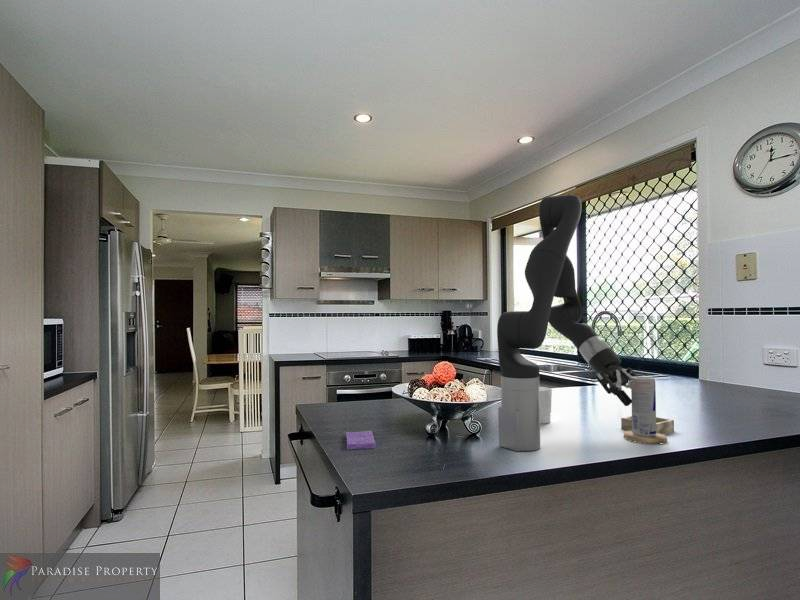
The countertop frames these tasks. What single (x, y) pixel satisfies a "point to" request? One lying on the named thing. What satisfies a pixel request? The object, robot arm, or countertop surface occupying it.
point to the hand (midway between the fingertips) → (638, 402)
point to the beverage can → (643, 406)
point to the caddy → (661, 424)
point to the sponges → (360, 440)
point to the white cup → (545, 404)
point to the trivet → (645, 438)
